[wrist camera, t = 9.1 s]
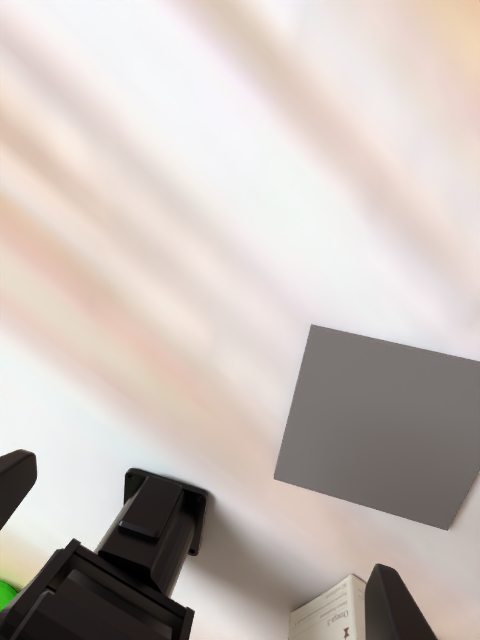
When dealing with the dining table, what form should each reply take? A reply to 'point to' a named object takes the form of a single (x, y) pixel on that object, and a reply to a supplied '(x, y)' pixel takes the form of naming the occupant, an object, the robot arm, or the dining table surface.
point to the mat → (383, 426)
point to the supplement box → (332, 614)
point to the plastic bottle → (6, 594)
